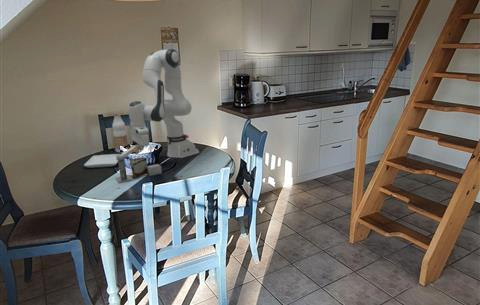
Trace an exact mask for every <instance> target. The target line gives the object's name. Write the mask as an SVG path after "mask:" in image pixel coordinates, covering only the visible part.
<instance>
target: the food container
mask: <svg viewBox="0 0 480 305" xmlns="http://www.w3.org/2000/svg"><path fill="white" fill-rule="evenodd" d="M147 161H148V159H147V157H136V158H132V159H131V160H129V167H131V173H132V178H134V179H139V178H140V177H142V176H145V175H147V172H146V166H148V164H147V163H148V162H147Z"/></svg>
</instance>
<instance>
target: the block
mask: <svg viewBox="0 0 480 305" xmlns="http://www.w3.org/2000/svg"><path fill="white" fill-rule="evenodd" d="M146 172H147V174H146V175H147V176H148V177H152V176H156V175H160V174H161V175H162V173H163V171H162V165H161V164H160V163H157V164H151V165H147V166H146Z"/></svg>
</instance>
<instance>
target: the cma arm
mask: <svg viewBox="0 0 480 305" xmlns="http://www.w3.org/2000/svg"><path fill="white" fill-rule="evenodd" d="M128 148H129V149H128V150H127V151H125V152H121V153H119V154H120V155H117V156H116V159H117V160H126V158H127V157H128V156H129V155H131V154H133V153H137V152H138V151H140V150H139V147H138V144H135V145H133V146H131V147H128Z"/></svg>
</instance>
